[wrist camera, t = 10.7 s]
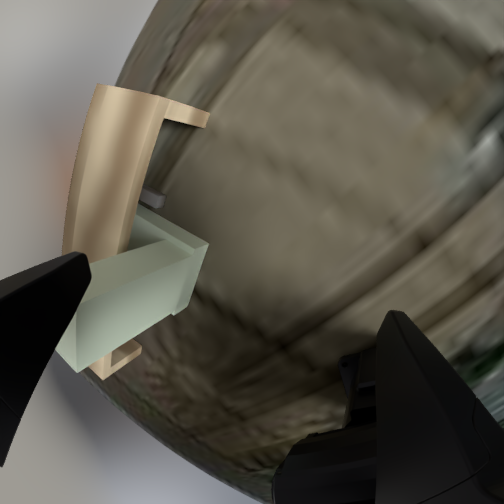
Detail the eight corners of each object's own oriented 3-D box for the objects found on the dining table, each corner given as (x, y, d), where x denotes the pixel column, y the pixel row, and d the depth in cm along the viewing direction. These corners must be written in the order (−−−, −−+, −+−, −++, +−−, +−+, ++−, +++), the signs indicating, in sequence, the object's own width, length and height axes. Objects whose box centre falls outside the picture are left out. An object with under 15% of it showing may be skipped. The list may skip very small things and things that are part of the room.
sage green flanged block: (209, 243, 22) (76, 296, 11) (187, 306, 24) (77, 378, 13) (135, 202, 24) (11, 223, 13) (122, 261, 26) (13, 301, 15)
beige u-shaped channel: (210, 113, 20) (160, 96, 14) (140, 353, 28) (102, 380, 23) (148, 96, 21) (96, 83, 16) (99, 318, 30) (61, 338, 25)
